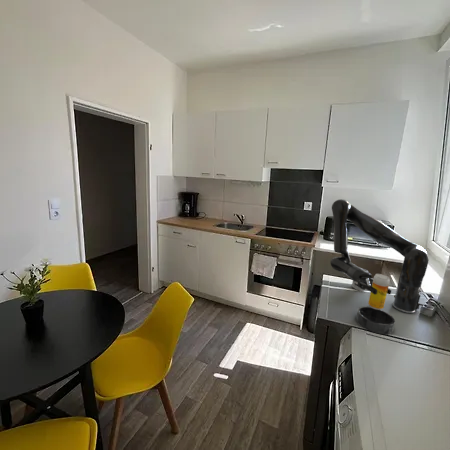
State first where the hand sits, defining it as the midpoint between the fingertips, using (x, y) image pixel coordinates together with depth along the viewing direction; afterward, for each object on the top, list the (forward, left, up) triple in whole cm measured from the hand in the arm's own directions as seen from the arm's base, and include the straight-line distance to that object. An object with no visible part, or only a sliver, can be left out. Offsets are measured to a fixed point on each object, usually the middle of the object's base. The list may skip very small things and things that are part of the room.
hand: (383, 292), depth 107 cm
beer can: (0, -3, -9) cm, 9 cm away
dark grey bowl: (0, -2, -17) cm, 17 cm away
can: (-16, -36, -17) cm, 43 cm away
